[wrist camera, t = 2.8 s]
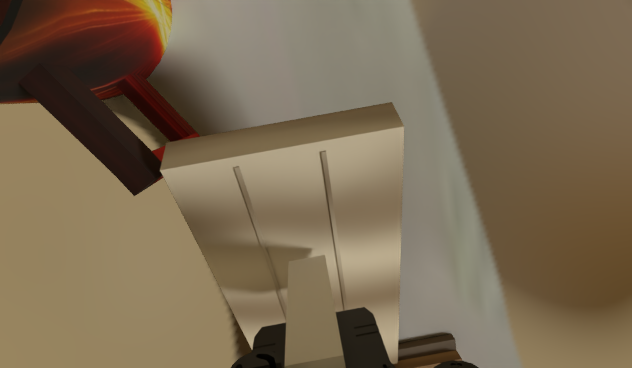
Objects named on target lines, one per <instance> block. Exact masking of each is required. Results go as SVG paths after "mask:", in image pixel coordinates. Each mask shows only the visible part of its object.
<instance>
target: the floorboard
mask: <svg viewBox="0 0 632 368" xmlns="http://www.w3.org/2000/svg"><path fill="white" fill-rule="evenodd" d="M451 360H454V361H462V359H461V357H460V355H459V354H458V352H457V351H456V344H455V339H454V337H453V335H452V334H448V335H443V336H438V337H432V338H427V339H422V340H416V341H411V342H405V343H400V344H398V363H395V364H393V365H394V366H395V368H434V367H435V366H437V365H438V364H440V363H442V362H446V361H451Z"/></svg>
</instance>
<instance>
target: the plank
mask: <svg viewBox="0 0 632 368" xmlns="http://www.w3.org/2000/svg"><path fill="white" fill-rule="evenodd" d="M403 146H404V125H403V123H402V121H401V119H400V117H399V115H398V113H397V111H396V110H395V108H394V106H393V104H392V102H390V103H385V104H379V105H373V106H368V107H362V108H357V109H351V110H346V111H340V112H334V113H329V114H323V115H318V116H312V117H307V118H301V119H296V120H290V121H284V122H279V123H273V124H268V125H262V126H257V127H251V128H245V129H240V130H234V131H229V132H223V133H218V134H212V135H206V136H201V137H195V138H190V139H184V140H179V141H173V142H168V143H166V147H165V151H164V155H163V159H162V164H161V168H160V171H161V173H162V175H163V177H164V179H165V181H166V183H167V185H168V187H169V189H170V191H171V193H172V195H173V197H174V199H175V201H176V203H177V204H178V206H179V208H180V210H181V212H182V214H183V216H184V218H185V220H186V222H187V224H188V226H189V228H190V230H191V232H192V234H193V236H194V238H195V240H196V242H197V244H198V245H199V247H200V249H201V251H202V253H203V255H204V257H205V259H206V261H207V263H208V265H209V267H210V269H211V271H212V273H213V275H214V277H215V279H216V281H217V282H218V284H219V286H220V288H221V290H222V292H223V294H224V296H225V298H226V300H227V302H228V304H229V306H230V308H231V310H232V312H233V314H234V316H235V318H236V319H237V321H238V323H239V325H240V327H241V329H242V331H243V333H244V335H245V337H246V339H247V341H248V343H249V345H250V347H251V349H253V342H254V337H255V335H256V334H257V333H258V331H259V330H260V329H261V327H265V326H270V325H275V324H281V323H286V316H287V290H288V265H289V261H294V260H299V259H304V258H310V257H315V256H321V255H325V258H326V263H327V269H328V274H329V280H330V285H331V290H332V296H333V301H334V307H335V312H340V311H345V310H350V309H356V308H361V307H365V308H366V309H368V310H369V311H370V312H372V313H373V315H374V317H375V320H376V323H377V326H378V329H379V332H380V334H381V337H382V340H383V343H384V345H385V348H386V351H387V354H388V357H389V360H390V362H391V363H392V364H395V363H398V331H399V294H400V257H401V220H402V183H403Z"/></svg>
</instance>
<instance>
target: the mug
mask: <svg viewBox="0 0 632 368" xmlns="http://www.w3.org/2000/svg"><path fill="white" fill-rule="evenodd" d="M171 22H172V7H171V0H0V104H14V103H40V104H41V105H42V106H43V107H45V108H46V110H48V111H49V112H50V113H51V114H52V115H53V116H54V117H55V118H56V119H57V120H58V121H59V122H60V123H61V124H62V125H63V126H64V127H65V128H66V129H67V130H68V131H69V132H71V134H73V135H74V136H75V137H76V138H77V139H78V140H79V141H80V142H81V143H82V144H83V145H84V146H85V147H86V148H87V149H88V150H89V151H90V152H91V153H92V154H93V155H94V156H95V157H96V158H97V159H99V160H100V161H101V162H102V163H103V164H104V165H105V166H106V167H107V168H108V169H109V170H110V171H111V172H112V173H113V174H114V175H115V176H116V177H117V178H118V179H119V180H120V181H121V182H122V183H123V184H124V186H125V187H126V188H127V189H128V190H129V191H130V192H131V193H132V194H133V195H134V196H135V195H137V194H138V193H140V192H142V191H143V190H145V189H146V188H148V187H149V186H151V185H152V184H154V183H156V182H157V181H159V180H160V179H162V178H163V175H162V173H161V171H160V168H161V164H162V159H163V155H164V151H165V147H166V146H163V147H161V148H158V149H156V150H153V151H151V150H150V149H149V148H148V147H147V146H146V145H145V144H144V143H143V142H142V141H141V140H140V139H139V138H138V137H137V136H136V135H135V134H134V133H133V132H132V131H131V130H130V129H129V128H128V127H127V126H126V125H125V124H124V123H123V122H122V121H121V120H120V119H119V118H118V117H117V116H116V115H115V114H114V113H113V112H112V111H111V110H110V109H109V108H108V107H107V106H106V105H105V104H104V103H103V102H102V101H101V100H104V99H108V98H112V97H115V96H119V95H122V94H124V95H125V96H126V97H127V98H128V99H129V100H130V101H131V102H132V103H133V104H134V105H135V106H136V107H137V108H138V109H139V110H140V111H141V112H142V113H143V114H144V115H145V116H146V117H147V118H148V119H149V120H150V121H151V122H152V123H153V124H154V125H155V126H156V127H157V128H158V129H159V130H160V131H161V132H162V133H163V134H164V135H165V136H166V137H167V138H168V139H169V141H170V142H173V141H179V140H184V139H190V138H195V137H200V136H199V134H198V133H197V132H196V131H195V130H194V129H193V128H192V127H191V126H190V125H189V124H188V123H187V122H186V121H185V120H184V119H183V118H182V117H181V116H180V115H179V114H178V113H177V112H176V110H175V109H174V108H173V107H172V106H171V105H170V104H169V103H168V102H167V101H166V100H165V99H164V98H163V97H162V96H161V95H160V94H159V93H158V92H157V91H156V90H155V89H154V88H153V87H152V85H151V84H150V83H149V82H148V81H147V80H146V78H147V77H148V76H150V74H151V73H152V72H153V70H154V69H155V68H156V66H157V65H158V64H159V62H160V60H161V58H162V56H163V54H164V52H165V50H166V48H167V44H168V40H169V36H170V32H171Z"/></svg>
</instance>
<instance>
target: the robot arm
mask: <svg viewBox="0 0 632 368" xmlns="http://www.w3.org/2000/svg"><path fill="white" fill-rule="evenodd" d="M231 368H395V366H394V365H393V364H392V363H391V362H390V360H389V357H388V354H387V351H386V348H385V345H384V343H383V340H382V337H381V334H380V332H379V329H378V326H377V323H376V320H375V317H374V315H373V313H372V312H370V311H369V310H368V309H366V308H365V307H361V308H356V309H350V310H345V311H340V312H335V307H334V301H333V296H332V290H331V285H330V280H329V274H328V269H327V263H326V258H325V255H321V256H315V257H310V258H304V259H299V260H294V261H289V265H288V290H287V316H286V323H281V324H275V325H270V326H265V327H261V329H260V330H259V331H258V333H257V334H256V335H255V337H254V342H253V349H252V353H249V354H247V355H245V356H243V357H241V358H240V359H238V360H237V361H236V362H235V363H234V364H233V365H232V367H231ZM434 368H478V367H477V366H475V365H473V364H471V363H468V362H464V361H454V360H451V361H446V362H442V363H440V364H438V365H437V366H435V367H434Z"/></svg>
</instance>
